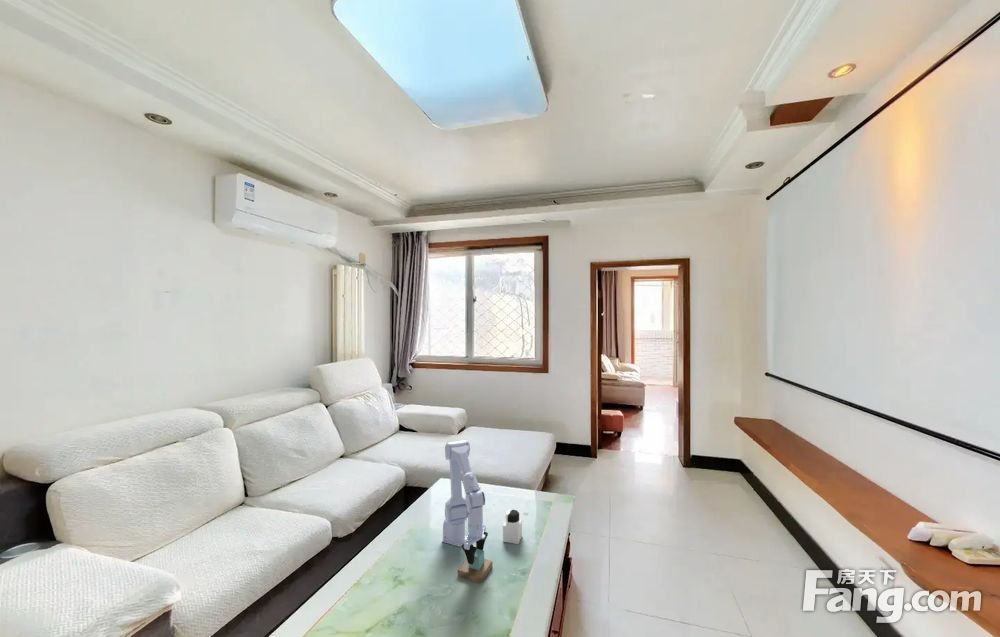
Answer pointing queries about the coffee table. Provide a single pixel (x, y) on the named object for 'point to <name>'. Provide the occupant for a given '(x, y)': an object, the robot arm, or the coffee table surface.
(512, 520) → the medicine bottle
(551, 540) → the coffee table surface
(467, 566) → the walnut slab
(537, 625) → the coffee table surface
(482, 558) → the teal block
